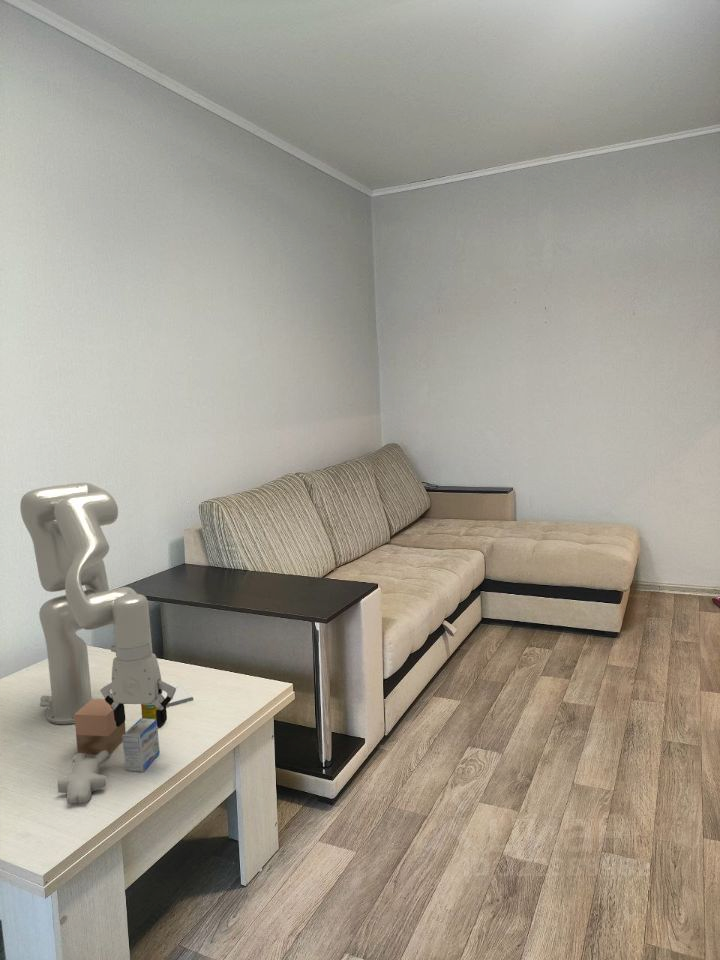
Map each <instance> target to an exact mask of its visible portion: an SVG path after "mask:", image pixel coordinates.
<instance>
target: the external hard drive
mask: <svg viewBox="0 0 720 960" xmlns="http://www.w3.org/2000/svg"><path fill="white" fill-rule="evenodd" d="M168 684H169V685H171V686H173V687H175V688H176V691H175V694H174V696H173V699H172V700H171V701H170V702H169V703H168V704H167V705H166V709H168V708H170V706H171V707H174V706H177V705H181V703H182V704H184V703H185V704H186V703H189V702H191V701H194V696H193V695H192V694H191V693H190V692H189V691H188V690H187V689H186V687H185V686H183V684H181V682H180V681H174V682H170V683H168ZM162 695H163V697H164V698H166V696H167V692H165V691H163V690H162ZM188 701H189V702H188Z"/></svg>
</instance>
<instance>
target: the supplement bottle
mask: <svg viewBox="0 0 720 960" xmlns="http://www.w3.org/2000/svg"><path fill="white" fill-rule="evenodd" d="M140 708H141V709H140V710H141V719H155V720H157V719H156V710H157V709H158V708H157V707H156V706H155V705H154V704H153V703H151V704H140ZM159 728H160V727H158V729H159Z"/></svg>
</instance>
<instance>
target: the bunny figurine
mask: <svg viewBox="0 0 720 960" xmlns="http://www.w3.org/2000/svg"><path fill="white" fill-rule="evenodd" d="M110 757H111V755H109V753H108V752H107V750H104V751H101V752H99V753H98V754H97V755H95V757H94V758H87V757H86V754H83V753H78V752H77V753H76V754H74V756H73V760H72V762H73V764H72V774H71V775H69V776H67V777H64V778H62V779H60V780H58V781H57V790H58V793H60V794H61V793H63V794H66V803H67V804H69V805H71V804H77V802H78V803H86V802H88V801H91V800H92V798H93V797H92V793H93V792H95V791H98V790H102V789H103V788H106V786H107V779H106V776H105V775H102V774H101V773H100V770H101V765H103V764H104V763H105V762H106V761H107V760H109V759H110Z"/></svg>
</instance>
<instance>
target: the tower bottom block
mask: <svg viewBox="0 0 720 960" xmlns="http://www.w3.org/2000/svg"><path fill="white" fill-rule="evenodd" d="M126 732H127V730H126V720H125V721H124V722H123V723H122V724H121V725H120V726H119V727H117V728H116V729H115V730H114V731H113V732H112V733H111V734H110V735H109V736H91V735H76V734H75V737H76V738H75V739H76V749H77V753H83V754H84V755H89V756H90V755H93V756H94V755H95V756H97V754H98V753H99V752H101V751H104V750H107V752H108V753H109V755H110V756H112V754H113V753H114V752H115V751H116V749H118V747H119V746H120V745H121V744H123V738H122V735H124V734H125V733H126Z"/></svg>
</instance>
